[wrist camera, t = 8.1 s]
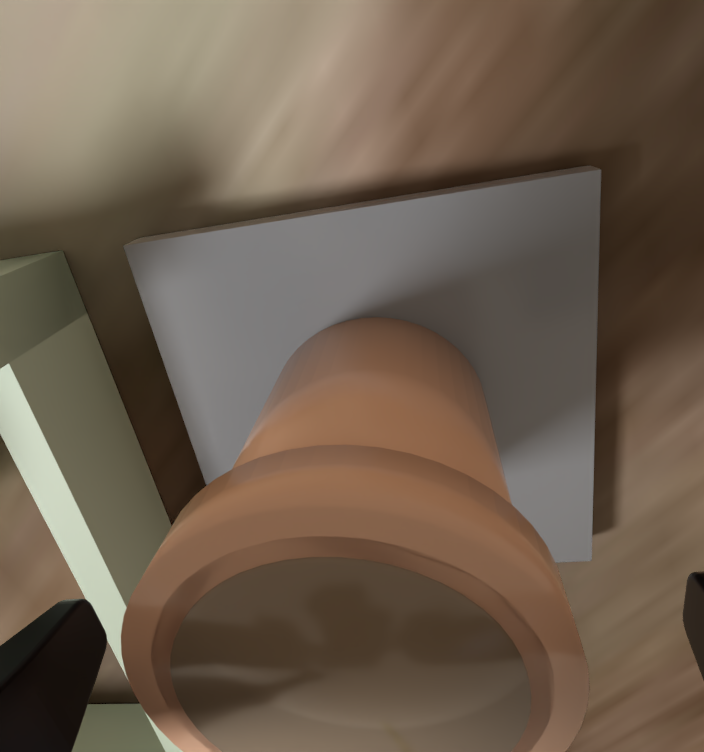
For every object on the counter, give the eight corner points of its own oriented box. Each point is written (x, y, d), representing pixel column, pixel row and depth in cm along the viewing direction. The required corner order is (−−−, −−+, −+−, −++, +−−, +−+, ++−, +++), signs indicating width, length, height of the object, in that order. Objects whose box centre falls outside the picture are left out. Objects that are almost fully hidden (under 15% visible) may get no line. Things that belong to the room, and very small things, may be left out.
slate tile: (583, 539, 15) (591, 560, 15) (245, 558, 17) (238, 578, 16) (589, 165, 11) (601, 169, 10) (138, 238, 13) (123, 245, 12)
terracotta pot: (509, 507, 14) (588, 833, 8) (286, 521, 15) (192, 822, 9) (497, 283, 12) (597, 493, 5) (230, 317, 13) (42, 530, 6)
